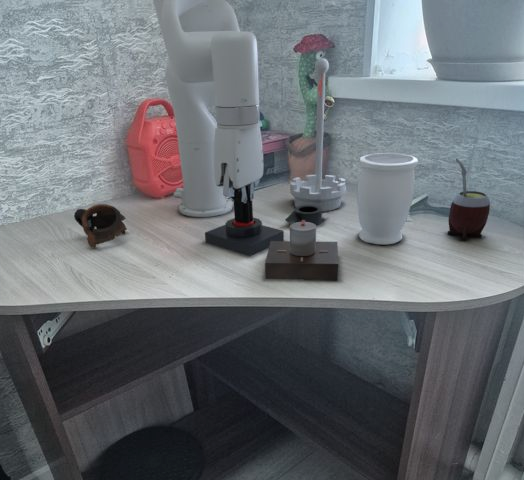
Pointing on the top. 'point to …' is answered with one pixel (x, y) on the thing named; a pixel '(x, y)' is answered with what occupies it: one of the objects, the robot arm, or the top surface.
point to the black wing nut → (306, 214)
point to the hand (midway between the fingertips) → (244, 221)
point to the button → (242, 223)
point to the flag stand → (319, 162)
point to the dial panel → (302, 262)
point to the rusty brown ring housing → (100, 223)
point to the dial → (302, 238)
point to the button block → (244, 237)
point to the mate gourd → (468, 211)
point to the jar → (385, 196)
